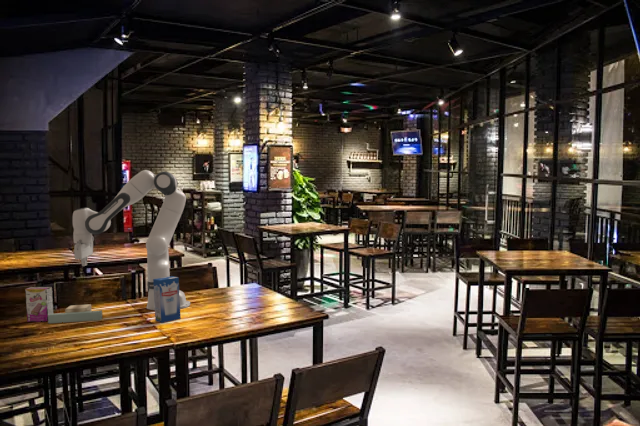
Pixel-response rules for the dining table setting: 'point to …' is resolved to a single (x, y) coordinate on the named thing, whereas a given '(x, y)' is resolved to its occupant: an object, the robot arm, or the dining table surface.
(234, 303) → the dining table surface
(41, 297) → the candy bar box
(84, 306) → the block
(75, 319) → the pale grey bar
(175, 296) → the milk carton
